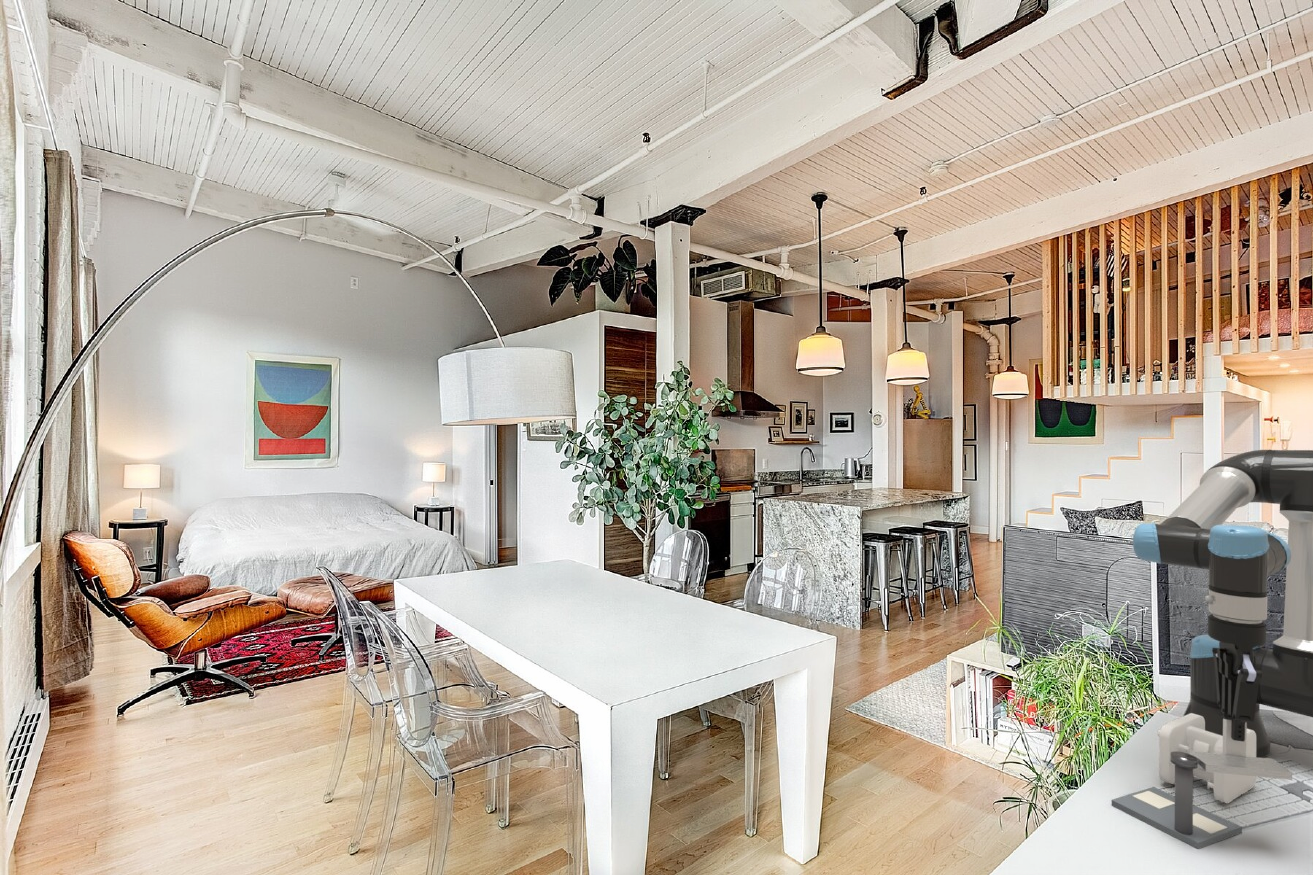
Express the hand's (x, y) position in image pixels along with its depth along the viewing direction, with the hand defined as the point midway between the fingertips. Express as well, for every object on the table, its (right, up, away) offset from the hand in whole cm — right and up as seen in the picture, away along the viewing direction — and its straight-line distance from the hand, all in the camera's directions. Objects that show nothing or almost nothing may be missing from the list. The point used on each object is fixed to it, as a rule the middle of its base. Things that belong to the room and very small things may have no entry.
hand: (1234, 756), depth 114 cm
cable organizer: (+8, -13, +15) cm, 21 cm away
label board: (-7, -13, +4) cm, 15 cm away
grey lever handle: (-4, -1, -3) cm, 4 cm away
